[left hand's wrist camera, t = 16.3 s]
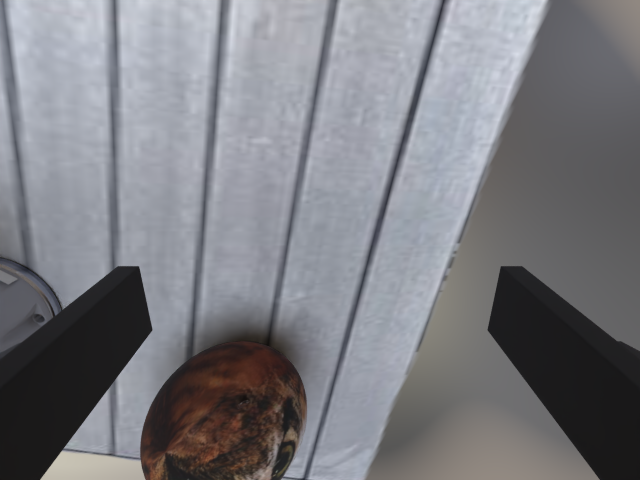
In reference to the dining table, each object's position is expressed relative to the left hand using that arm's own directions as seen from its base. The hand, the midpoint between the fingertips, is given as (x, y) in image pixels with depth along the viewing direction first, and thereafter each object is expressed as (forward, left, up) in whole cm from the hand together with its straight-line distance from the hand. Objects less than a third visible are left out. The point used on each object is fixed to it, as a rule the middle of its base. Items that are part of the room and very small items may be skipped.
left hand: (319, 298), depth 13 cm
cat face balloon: (-29, -13, -29) cm, 43 cm away
